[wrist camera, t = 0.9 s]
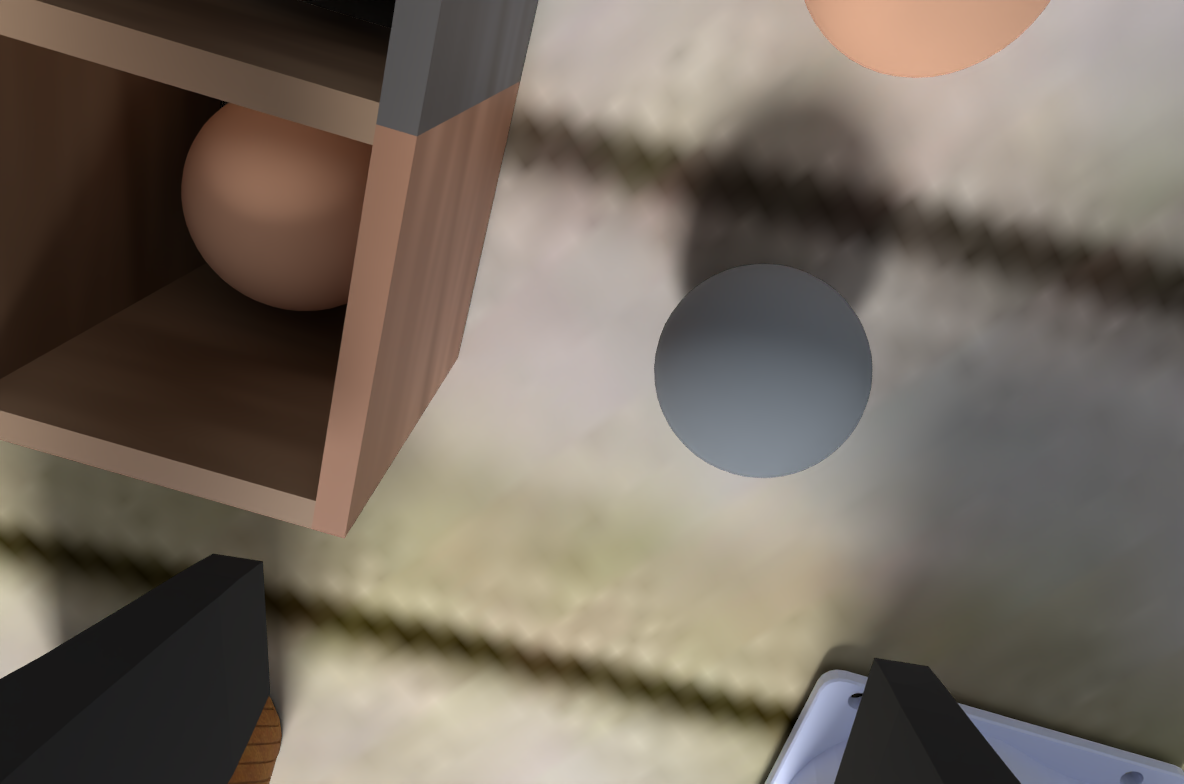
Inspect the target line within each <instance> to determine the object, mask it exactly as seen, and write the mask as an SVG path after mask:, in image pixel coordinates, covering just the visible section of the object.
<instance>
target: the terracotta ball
mask: <svg viewBox="0 0 1184 784" xmlns="http://www.w3.org/2000/svg"><path fill="white" fill-rule="evenodd" d="M1049 2H1050V0H805V3H806V6H807V8H808V10H809V12H810V14H811V16H812V18H813V20H814V22H815V23H816V25H817V26H818V28H819V29H820V30H821V32H822V33H823V35H824V36H825V37H826V38H827V39H828V40H829V41H830V42H831V43H832V44H833V45H834V46H835V47H836V49H838V50H839V51H840V52H841V53H843V54H844V55H845V56H847V57H848V58H849V59H851V60H853V61H854V62H856V63H858V64H860V65H861V66H863V67H866V68H868V69H871V70H873V71H876V72H879V73H883V74H888V75H892V76H900V77H912V78H919V77H934V76H939V75H944V74H949V73H953V72H956V71H959V70H962V69H965V68H968V67H970V66H972V65H974V64H977V63H979V62H981V61H983V60H985V59H987V58H989V57H990V56H992V55H994V54H995V53H997V52H999V51H1000V50H1002V49H1004V48H1005V47H1006V46H1007V45H1009V44H1010V43H1011V42H1013V41H1014V40H1015V39H1017V38H1018V37H1019V36H1020V35H1021V34H1022V33H1023V32H1024V31H1025V30H1026V29H1027V28H1028V27H1029V26H1030V25H1032V23H1033V22H1034V21H1035V20H1036V19H1037V18H1038V16H1039V15H1040V14H1041V13H1042V12H1043V10H1044V9H1045V8H1046V6H1047V5H1048V3H1049Z"/></svg>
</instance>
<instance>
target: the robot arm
mask: <svg viewBox="0 0 1184 784" xmlns="http://www.w3.org/2000/svg"><path fill="white" fill-rule="evenodd" d="M856 693H863V695H862V696H861V697H858V698H855V697H850V696H851V695H853V694H856ZM269 695H270V682H269V664H268V646H267V628H266V610H265V592H264V574H263V562H262V561H256V560H250V559H243V558H237V557H231V556H224V555H218V554H212V555H210V556H208V557H206V558H205V559H203V560H201V561H199V562H197V563H196V564H194V565H192V566H191V567H189V568H187V569H185V570H184V571H182V572H180V573H179V574H177V575H175V576H174V577H172V578H171V579H169V580H167V581H166V582H164V583H162V584H161V585H159V586H157V587H156V588H154V589H153V590H151V591H149V592H148V593H146V594H144V595H143V596H141V597H140V598H138V599H136V600H135V601H133V602H131V603H130V604H128V605H126V606H125V607H123V608H122V609H120V610H118V611H117V612H115V613H113V614H112V615H110V616H108V617H107V618H105V619H103V620H102V621H100V622H98V623H97V624H95V625H93V626H92V627H90V628H88V629H87V630H85V631H83V632H82V633H80V634H78V635H77V636H75V637H73V638H71V639H70V640H68V641H66V642H65V643H63V644H61V645H60V646H58V647H56V648H55V649H53V650H51V651H50V652H48V653H46V654H45V655H43V656H41V657H39V658H38V659H36V660H34V661H32V662H30V663H29V664H27V665H25V666H23V667H21V668H19V669H18V670H16V671H14V672H12V673H10V674H9V675H7V676H5V677H3V678H1V679H0V784H228V782H229V780H230V779H231V777H232V775H233V774H234V771H235V769H236V767H237V765H238V763H239V761H240V759H241V757H242V755H243V752H244V750H245V748H246V746H247V744H248V742H249V740H250V738H251V735H252V733H253V731H254V729H255V726H256V724H257V722H258V720H259V717H260V715H261V713H262V710H263V708H264V706H265V704H266V701H267V699H268V697H269ZM1131 771H1132V772H1131ZM1127 772H1130V773H1127ZM1125 773H1127V774H1125ZM765 784H1184V771H1183V770H1182V769H1181V768H1180V767H1178V766H1176V765H1173V764H1169V763H1166V762H1162V761H1159V760H1155V759H1152V758H1148V757H1145V756H1141V755H1138V754H1135V753H1131V752H1128V751H1124V750H1121V749H1117V748H1114V747H1110V746H1107V745H1103V744H1100V743H1096V742H1093V741H1089V740H1086V739H1082V738H1079V737H1075V736H1072V735H1068V734H1065V733H1061V732H1058V731H1054V730H1051V729H1047V728H1044V727H1040V726H1037V725H1033V724H1030V723H1026V722H1023V721H1019V720H1016V719H1012V718H1009V717H1005V716H1002V715H998V714H995V713H992V712H988V711H985V710H981V709H978V708H974V707H971V706H967V705H964V704H960V703H957V702H956V701H955V699H954V698H953V697H952V695H951V694H950V693H949V692H948V690H947V689H946V688H945V687H944V685H943V684H942V683H941V682H940V680H939V679H938V678H937V677H936V675H935V674H934V673H933V672H932V670H931V669H930V668H929V667H928V666H922V665H916V664H910V663H903V662H897V661H891V660H884V659H878V658H874V661H873V664H872V667H871V670H870V673H869V676H868V677H866V676H862V675H859V674H855V673H852V672H849V671H845V670H831V671H828V672H826V673H824V674H822V675H821V677H820V678H819V679H818V680H817V682H816V684H815V686H814V688H813V690H812V692H811V694H810V696H809V698H808V700H807V702H806V704H805V706H804V708H803V710H802V712H801V714H800V716H799V717H798V719H797V721H796V723H795V725H794V727H793V729H792V731H791V733H790V735H789V737H788V739H787V741H786V743H785V745H784V747H783V749H782V751H781V753H780V754H779V756H778V758H777V760H776V762H775V764H774V766H773V768H772V770H771V772H770V774H769V776H768V778H767V780H766V782H765Z"/></svg>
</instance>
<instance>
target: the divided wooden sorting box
mask: <svg viewBox="0 0 1184 784" xmlns="http://www.w3.org/2000/svg"><path fill="white" fill-rule="evenodd" d="M537 4H538V0H396V2H395V9H394V15H393V21H392V27H391V28H389V27H385V26H382V25H379V24H375V23H372V22H369V21H365V20H362V19H359V18H355V17H352V16H349V15H345V14H342V13H339V12H335V11H332V10H329V9H326V8H322V7H319V6H316V5H312V4H309V3H306V2H302V1H299V0H0V440H3V441H6V442H10V443H13V444H17V445H20V446H24V447H27V448H31V449H34V450H38V451H41V452H45V453H48V454H52V455H55V456H59V457H62V458H66V459H69V460H73V461H76V462H80V463H83V464H87V465H90V466H93V467H97V468H100V469H104V470H107V471H111V472H114V473H118V474H121V475H125V476H128V477H132V478H135V479H139V480H142V481H146V482H149V483H153V484H156V485H160V486H163V487H167V488H170V489H174V490H177V491H181V492H184V493H188V494H191V495H195V496H198V497H202V498H205V499H209V500H212V501H216V502H219V503H223V504H226V505H230V506H233V507H237V508H240V509H244V510H247V511H251V512H254V513H258V514H261V515H265V516H268V517H272V518H275V519H279V520H282V521H286V522H289V523H293V524H296V525H299V526H303V527H306V528H310V529H313V530H317V531H320V532H324V533H327V534H331V535H334V536H338V537H341V538H345V537H346V535H347V533H348V532H349V530H350V529H351V527H352V526H353V524H354V522H355V521H356V519H357V518H358V516H359V514H360V513H361V511H362V510H363V508H364V506H365V505H366V503H367V502H368V500H369V498H370V497H371V495H372V494H373V492H374V490H375V489H376V487H377V486H378V484H379V483H380V481H381V479H382V478H383V476H384V475H385V473H386V471H387V470H388V468H389V467H390V465H391V463H392V462H393V460H394V459H395V457H396V455H397V454H398V452H399V451H400V449H401V447H402V446H403V444H404V443H405V441H406V440H407V438H408V436H409V435H410V433H411V432H412V430H413V428H414V427H415V425H416V424H417V422H418V420H419V419H420V417H421V416H422V414H423V412H424V411H425V409H426V408H427V406H428V404H429V403H430V401H431V400H432V398H433V397H434V395H435V393H436V392H437V390H438V389H439V387H440V385H441V384H442V382H443V381H444V379H445V377H446V376H447V374H448V373H449V371H450V369H451V368H452V366H453V365H454V363H455V361H456V360H457V358H458V355H459V350H460V346H461V341H462V337H463V333H464V328H465V324H466V319H467V315H468V310H469V306H470V301H471V297H472V293H473V288H474V284H475V279H476V275H477V270H478V266H479V261H480V257H481V253H482V248H483V244H484V239H485V235H486V230H487V226H488V221H489V217H490V213H491V208H492V204H493V199H494V195H495V190H496V186H497V181H498V177H499V173H500V168H501V164H502V159H503V155H504V150H505V146H506V141H507V137H508V133H509V128H510V124H511V119H512V115H513V110H514V106H515V101H516V97H517V93H518V88H519V84H520V79H521V75H522V70H523V66H524V61H525V57H526V53H527V48H528V44H529V39H530V35H531V30H532V26H533V22H534V17H535V13H536V8H537ZM221 100H222V101H226V102H229V103H232V104H236V105H239V106H242V107H246V108H249V109H253V110H256V111H259V112H263V113H266V114H269V115H273V116H276V117H279V118H283V119H286V120H290V121H293V122H296V123H300V124H303V125H306V126H310V127H313V128H316V129H320V130H323V131H327V132H330V133H333V134H337V135H340V136H343V137H347V138H350V139H353V140H357V141H360V142H364V143H367V144H370V145H373V146H372V153H371V159H370V165H369V171H368V178H367V184H366V190H365V197H364V203H363V209H362V215H361V222H360V228H359V234H358V240H357V247H356V253H355V259H354V265H353V272H352V278H351V284H350V291H349V297H348V303H347V304H344V305H340V306H337V307H334V308H330V309H324V310H318V311H294V310H285V309H281V308H276V307H272V306H269V305H266V304H264V303H261V302H258V301H255V300H253V299H251V298H249V297H247V296H245V295H243V294H242V293H240V292H239V291H237V290H236V289H234V288H233V287H231V286H230V285H229V284H228V283H226V282H225V281H224V280H223V279H222V278H221V277H220V276H219V275H217V274H216V273H215V272H214V271H213V269H212V268H211V267H210V266H209V265H208V263H207V262H206V261H205V260H204V258H203V257H202V255H201V254H200V252H199V251H198V249H197V247H196V245H195V243H194V241H193V239H192V237H191V235H190V233H189V230H188V227H187V225H186V221H185V217H184V213H183V208H182V200H181V183H182V176H183V169H184V164H185V161H186V157H187V154H188V152H189V149H190V147H191V145H192V143H193V141H194V139H195V138H196V136H197V134H198V133H199V131H200V130H201V128H202V127H203V125H204V124H205V123H206V122H207V121H208V120H209V119H210V118H211V117H212V116H213V115H214V114H215V113H216V112H217V111H219V110H220V101H221Z"/></svg>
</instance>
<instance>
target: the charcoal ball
mask: <svg viewBox="0 0 1184 784" xmlns="http://www.w3.org/2000/svg"><path fill="white" fill-rule="evenodd" d="M654 373H655V387H656V392H657V397H658V400H659V403H660V407H661V409H662V412H663V414H664V416H665V418H666V420H667V422H668V424H669V426H670V427H671V429H672V430H673V432H674V433H675V435H676V436H677V437H678V438H679V439H680V440H681V442H682V443H683V444H684V445H685V446H686V447H687V448H688V449H689V450H690V451H691V452H693V453H694V454H695V455H696V456H697V457H699V458H701V459H702V460H704V461H705V462H707V463H708V464H710V465H712V466H714V467H716V468H719V469H721V470H724V471H727V472H729V473H732V474H736V475H741V476H745V477H754V478H772V477H780V476H785V475H790V474H794V473H797V472H800V471H802V470H805V469H807V468H809V467H812V466H814V465H816V464H817V463H819V462H821V461H822V460H824V459H825V458H827V457H828V456H829V455H831V454H832V453H833V452H834V451H835V450H837V449H838V448H839V447H840V446H841V445H842V444H843V443H844V442H845V441H846V440H847V438H848V437H849V436H850V435H851V433H852V432H853V430H854V429H855V428H856V426H857V424H858V422H859V420H860V419H861V417H862V415H863V412H864V410H865V407H866V404H867V402H868V399H869V394H870V390H871V382H872V357H871V351H870V347H869V342H868V339H867V336H866V334H865V331H864V328H863V326H862V324H861V322H860V320H859V318H858V317H857V315H856V313H855V312H854V311H853V309H852V308H851V307H850V305H849V304H848V303H847V302H846V300H845V299H844V298H843V297H842V296H841V295H840V294H839V293H838V292H837V291H836V290H835V289H834V288H832V287H831V286H829V285H828V284H827V283H825V282H824V281H822V280H820V279H818V278H817V277H815V276H813V275H811V274H809V273H807V272H804V271H802V270H799V269H796V268H792V267H788V266H784V265H776V264H751V265H745V266H739V267H735V268H732V269H728V270H726V271H723V272H721V273H718V274H716V275H714V276H712V277H710V278H709V279H707V280H705V281H703V282H702V283H701V284H699V285H698V286H697V287H695V288H694V289H693V290H691V291H690V292H689V293H688V294H687V295H686V296H685V297H684V298H683V299H682V300H681V302H680V303H679V304H678V306H677V307H676V308H675V309H674V311H673V312H672V313H671V315H670V317H669V319H668V320H667V322H666V324H665V326H664V328H663V331H662V333H661V336H660V339H659V343H658V347H657V351H656V355H655V364H654Z"/></svg>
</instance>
